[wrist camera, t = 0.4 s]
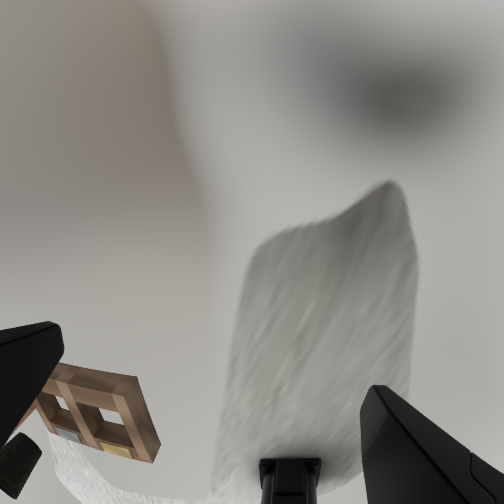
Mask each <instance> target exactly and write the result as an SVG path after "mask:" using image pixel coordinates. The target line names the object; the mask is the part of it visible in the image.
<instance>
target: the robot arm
mask: <svg viewBox="0 0 504 504" xmlns="http://www.w3.org/2000/svg"><path fill="white" fill-rule="evenodd" d="M63 353H64V343H63V338H62V332H61V328H60V326H59V325H58V324H56V323H53V322H51V321H46V322H41V323H35V324H31V325H25V326H20V327H16V328H10V329H4V330H0V452H1V450H2V448H3V447H4V445H5V444H6V442H7V440H8V439H9V437H10V436H11V434H12V433H13V431H14V430H15V428H16V427H17V425H18V424H19V422H20V421H21V419H22V418H23V416H24V415H25V414H26V412H27V411H28V409H29V408H30V406H31V405H32V403H33V402H34V401H35V399H36V398H37V396H38V395H39V394H40V392H41V391H42V389H43V388H44V386H45V384H46V383H47V381H48V379H49V377H50V376H51V374H52V372H53V371H54V369H55V367H56V366H57V364H58V362H59V360H60V359H61V357H62V356H63ZM360 427H361V452H362V465H363V472H364V478H365V485H366V492H367V499H368V504H504V474H503V473H501V472H500V471H498V470H497V469H495V468H493V467H492V466H491V465H489V464H488V463H486V462H485V461H483V460H482V459H481V458H479V457H478V456H477V455H475V454H474V453H472V452H471V453H470V450H469V449H467V448H466V447H465V446H463V445H462V444H461V443H459V442H458V441H457V440H455V439H454V438H453V437H452V436H450V435H449V434H448V433H446V432H445V431H444V430H442V429H441V428H440V427H438V426H437V425H436V424H435V423H433V422H432V421H431V420H429V419H428V418H427V417H425V416H424V415H423V414H422V413H420V412H419V411H418V410H416V409H415V408H414V407H413V406H411V405H410V404H409V403H407V402H406V401H405V400H404V399H402V398H401V397H400V396H399V395H397V394H396V393H395V392H393V391H392V390H391V389H390V388H388V387H387V386H385V385H372V386H371V387H370V388H369V390H368V392H367V395H366V397H365V399H364V402H363V404H362V406H361V409H360ZM320 469H321V459H296V460H260V461H259V470H260V481H261V489H262V500H261V504H317V494H316V488H317V485H318V480H319V474H320Z"/></svg>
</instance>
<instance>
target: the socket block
mask: <svg viewBox="0 0 504 504" xmlns="http://www.w3.org/2000/svg"><path fill="white" fill-rule="evenodd" d="M55 396H59V397H62V398H64V400H65V402H66V404H67V406H68V408H69V410H70V411H69V410H66V409H63V408H61V407H60V405H59V403H58V401H57V399H56V397H55ZM33 403H34V405H35V407H36V409H37V411H38V413H39V414H40V416H41V418H42V419H43V422H44V423H45V425H46V427H47V428H48V430H49V432H51V433H54V434H56V435H59V436H60V437H63V438H66V439H68V440H71V441H74V442H77V443H79V444H83V445H86V446H89V447H92V448H95V449H98V450H102V451H105V452H108V453H111V454H115V455H118V456H122V457H126V458H130V459H135V460H139V461H144V462H148V463H153V462H154V460H155V457H156V455H157V453H158V450H159V448H160V446H161V443H160V441H159V438H158V436H157V433H156V430H155V428H154V425H153V422H152V420H151V417H150V414H149V412H148V409H147V406H146V403H145V400H144V398H143V394H142V391H141V388H140V385H139V382H138V379H137V377H136V376H129V375H122V374H116V373H110V372H104V371H98V370H93V369H88V368H82V367H78V366H73V365H68V364H64V363H59V362H58V364H57V366H56V367H55V369H54V371H53V372H52V374H51V376H50V377H49V379H48V381H47V383H46V384H45V386H44V388H43V389H42V391H41V392H40V394H39V395H38V396H37V398H36V399H35V401H34V402H33ZM99 408H102V409H106V410H111V411H115V412H119V414H120V416H121V419H122V421H123V423H124V425H121V424H116V423H112V422H108V421H104V419H103V417H102V415H101V413H100V410H99Z"/></svg>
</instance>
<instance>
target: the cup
mask: <svg viewBox="0 0 504 504" xmlns="http://www.w3.org/2000/svg"><path fill="white" fill-rule="evenodd" d="M41 455H42V451H41V450H40V448H39V447H38V446H37V445H36V443H35V442H34V441H33V440H31V439H30V438H29V437H28V436H27V435H25V434H23V433H21V432H19V433H18V434H17V435H16V436H15V437H14V438H13V439H12V440H10V441H9V442H8V443H7V444H6V445H5V446H4V447H3V448H2V450H1V452H0V489H1V490H2V491H4V492H5V493H6V494H7V495H9V496H10V497H11V498H13V499H17V498H18V496H19V494H20V492H21V490H22V488H23V487H24V484H25V483H26V481H27V479H28V478H29V476H30V474H31V472H32V470H33V469H34V467H35V465H36V463H37V461H38V460H39V458H40V457H41Z"/></svg>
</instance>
